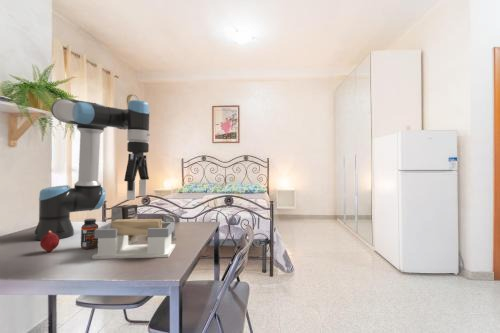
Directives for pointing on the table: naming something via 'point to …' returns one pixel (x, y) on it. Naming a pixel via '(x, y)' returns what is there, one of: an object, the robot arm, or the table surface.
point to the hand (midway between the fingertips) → (137, 197)
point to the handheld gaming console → (170, 219)
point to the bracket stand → (119, 248)
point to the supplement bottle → (89, 234)
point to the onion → (49, 241)
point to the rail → (135, 226)
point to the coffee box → (125, 217)
